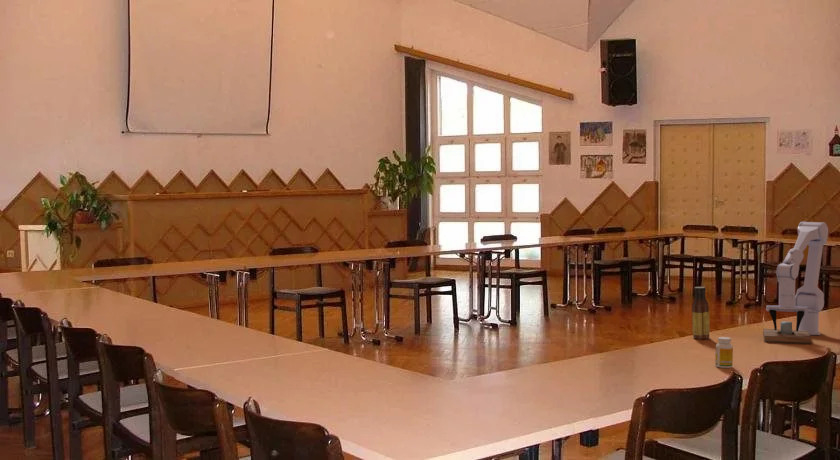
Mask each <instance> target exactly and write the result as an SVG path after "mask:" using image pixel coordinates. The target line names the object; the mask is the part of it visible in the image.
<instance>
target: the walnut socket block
mask: <svg viewBox="0 0 840 460" xmlns="http://www.w3.org/2000/svg"><path fill="white" fill-rule="evenodd" d="M762 330H763V331H762V333H763V334H762V335H763V342H764V343H775V344H776V343H777V344H798V345H800V344H801V345H811V341H812V340H811V339H812V338H811V335H809V333H808V331H807V330H798V331H796V329H792V335H791V334H781V328H777V330H774V328H763V329H762Z"/></svg>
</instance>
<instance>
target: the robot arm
mask: <svg viewBox="0 0 840 460" xmlns="http://www.w3.org/2000/svg"><path fill="white" fill-rule="evenodd" d="M828 237H829V227H828V225H827V222H824V221H822V222H821V221H820V222H819V221H817V222H814V221H813V222H812V221H800V222H799V223H798V226H797V239H796V241H795V244H794V246H793V248H790V249H789V250H788V252H787V254H786V256H785V258H784V260H783V261H782V262H781V263H779V264H778V265H777V267H776V271H775V274H776V277H777V283H778V305H777V304H776V305H769V304H768V305H766V306H765V307H766V308H765V311H766V312H769V315H770V317H771V320H772V323H773V327H774V328H773V329H774V330H777V329H778V327H777V312H790V313H794V312H796V325H795V330H796V331H798V330H807V331H808V333H809V335H810V336H821V333H820V329H819V323H820V322H819V319H820V312H821V311H822V310H823V308H824V305H825V293H824V292H823V291H822V290H821V289H820V288H819V286H818V285H819V277H820V270H821V269H820V268H821V263H822V255H823V249H824V246H825V245H827V242H828ZM807 247H808V253H807V257H806V258H807V259H806V260H807V261H806V267H805V274H804V275H805V276H804V282H803V286H800V287H799V288H797V290H796V279H797V278H798V276H799V271H800V265H801V262H802V261H803V259H804V257H805V255H804V250H806V249H807Z"/></svg>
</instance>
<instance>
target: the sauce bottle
mask: <svg viewBox="0 0 840 460" xmlns="http://www.w3.org/2000/svg"><path fill="white" fill-rule="evenodd" d="M709 306H710V305H709V302H708V301H707V299H706V286H694V300H693V302H692V307H691V314H692V317H691V318H692V319H691V320H692V321H691V322H692V336H693V338H694V339H695V340H707V339H710V311H709V310H710V308H709Z"/></svg>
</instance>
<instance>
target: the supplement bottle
mask: <svg viewBox="0 0 840 460" xmlns="http://www.w3.org/2000/svg"><path fill="white" fill-rule="evenodd" d="M717 342H718V343H716V345H715V365H714V366H715V367H717V368H719V369H731V368H733V361H734V360H733V359H734V355H733V353H734V352H733V351H734V346H733V344H732V338H731V337H727V336H720V337H719V336H718V337H717Z"/></svg>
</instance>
